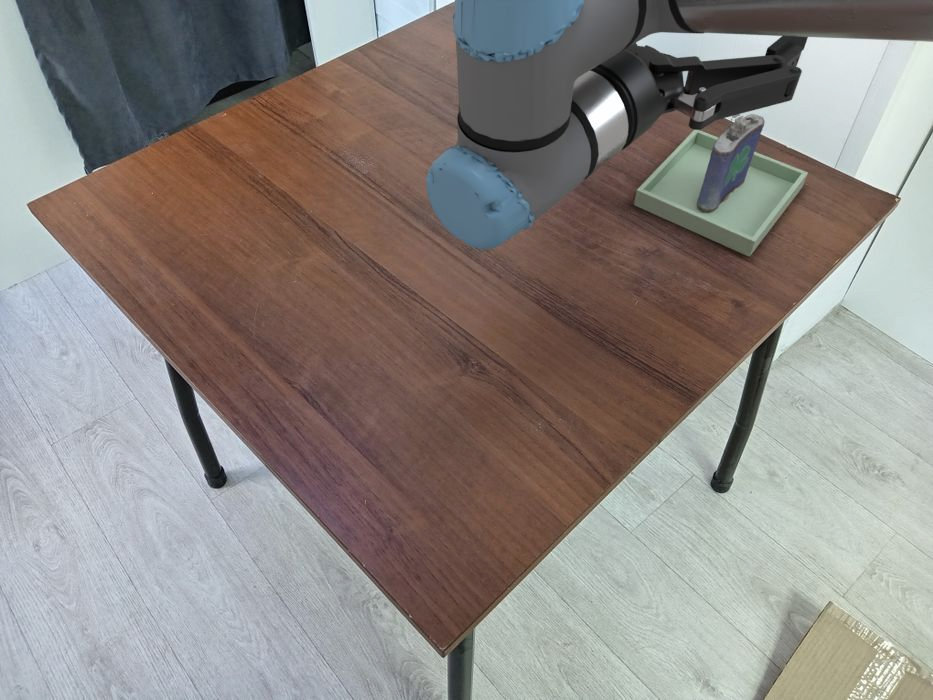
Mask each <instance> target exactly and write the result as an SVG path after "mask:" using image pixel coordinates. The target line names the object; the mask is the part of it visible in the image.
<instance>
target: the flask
mask: <svg viewBox="0 0 933 700" xmlns="http://www.w3.org/2000/svg"><path fill="white" fill-rule="evenodd" d="M733 119H734V122H733V123H732V124H730V126H728V127H727V128H726V129H725V130H724V131H723V132H722V133H721V134H720V135H719V136H718V139H717V141H716V142H715V144H714V146H713V149H712V152H711V156H710V160H709V164H708V167H707V171H706V174H705V178H704V182H703V185H702V187H701V191H700V195H699V198H698V201H697V208H698V209H699V210H700V211H704V212H706V213H709V212H712V211H715V210H716V209H718V208H719V207H718V206H719V205H720V204H721V203H722V202H723V201H725V200H727V198H729V194H730V193H731V192H734V189H736V188H739V186H740V185H742V184H743V183H744V181H745V178H746V174H747V171H748V168H749V165H750V162H751V160H752V157H753V155H754V152H756V148H757V146H758V144H759V143H758V142H759V140H760V137H761V134H762V131H763V128H764V126H765V123H766V121H765V119H764V117H763V116H761V115H759V114H755V113H751V114H747V115H745V116H744V115H741V114H738V115H734V116H731V118H730V121H731V122H732V121H733ZM699 207H700V208H701V209H700V208H699Z"/></svg>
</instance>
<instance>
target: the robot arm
mask: <svg viewBox="0 0 933 700" xmlns="http://www.w3.org/2000/svg"><path fill="white" fill-rule="evenodd" d="M452 23H453V27H452V28H453V33H454V36H455V49H456V50H455V51H456V53H455V54H456V69H457V90H458V95H457V96H458V112H457V116H456V118H457V122H456V123H457V124H456V125H457V127H456V128H457V141H456V143H455V144H454V146H450V147H447V148H445V151H443V153H442V154H441V155H440V156H439V157H438V158H436V159H435V160H434V161H433V163H432V164H431V166H430V167H429V169H428V173H427V174H426V177H425V179H426V180H425V187H426V194H427V197H428V201H429V204H430V205H431V208H432V210H433V212H434V214H435V216H436V217H437V219H438V221H439V222H440V223H441V224H442V225H443V227H444V228H445V229H446V230H447V231H448V232H449V233H450V234H451V235H452V236H453V237H454V238H455V239H458V240H460V241H461V242H463V243H464V244H465V245H466V246H468V247H471V248H474V249H477V250H492V249H495V248H498V247H500V246H501V245H503V244H505V243H506V242H507V241H509V240H510V239H511V238H513V237H514V236H516V235H517V234H519V233H521V232H522V231H523V230H528V229H530V228H531V227H532V226H533V225H534V223H535V222H536V221H537V220H539V219H540V218H541V217H542V216H544V215H545V214H546V213H547V212H548V211H549V210H551V209H552V208H553V207H554V206H555V205H557V204H558V203H559V202H560V201H561V200H562V199H564V198H565V197H567V196H568V195H569V194H570V193H571V192H572V191H574V190H575V189H576V188H577V187H578V186H580V185H581V184H582V183H583V182H584V181H585V180H587V179H588V178H589V177H591V176H592V175H593V174H594V173H595V172H597V171H598V170H599V169H600V168H602V167H603V166H604V165H606V164H607V163H608V162H610V161H611V159H613V158H614V157H615V156H617V155H618V153H620V152H621V151H624V150H625V149H626V148H628V147H629V146H630V145H631V144H633V143H634V142H636V140H638V139H639V138H640V137H641V136H643V135H644V134H645V133H646V132H648V131H649V130H650V129H651V128H652V126H653V125H654V124H655V123H656V122H657V121H658V119H659V118H660V117H661V116H663V115H665V114H668V113H672V112H675V111H678V112H680V113H682V114H684V115H686V116H688V117H689V121H688V127H689V128H690V129H691V130H693V131H694V130H700V131H702V130H703V129H704V128H707V126H709V125H711V124H712V123H714V122H715V121H718V120H722V119H726V118H729V117H732V116H734V115H738V114H740V115H741V114H744V113H745V114H746V113H749V112H752V111H757V110H760V109H764V108H767V107H771V106H776V105H779V104H784V103H787V102H791V101H792V100H793V98H794V96H795V93H796V90H797V87H798V84H799V81H800V79H801V76H802V73H803V70H802V69H801V67H799V66H798V63H799V61H800V58H801V55H802V52H803V51H804V50H805V47H806V44H807V41H808V38H821V39H822V38H823V39H824V38H825V39H848V40H849V39H850V40H851V39H852V40H877V41H901V42H925V43H927V42H929V43H933V0H454V13H453V15H452ZM659 33H660V34H661V33H667V34H668V33H669V34H700V35H701V34H719V35H721V34H722V35H725V34H726V35H748V36H771V37H772V36H776V37H779V38H778V39H776V40H775V41H774V42H772V44H770V45H769V46H768V47H767V49H766V51H765V54H764V55H757V56H747V57H745V56H744V57H737V58H736V57H734V58H733V57H732V58H724V59H723V58H722V59H712V60H701V59H700V57H699V56H696V55H694V56H683V57H682V56H681V57H676V56H675V55H672V54H668V53H664V52H660V51H659V50H658V49H656V48H654V47H653V46H650V45H647V44H646V45H644V46H643V45H638V42H639V41H641V40H643V39H645V38H646V37H649V36H650V35H653V34H659ZM684 72H687V75H686V80H685V84H684Z"/></svg>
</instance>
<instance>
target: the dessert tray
mask: <svg viewBox="0 0 933 700" xmlns="http://www.w3.org/2000/svg"><path fill="white" fill-rule="evenodd" d="M718 138H719V136H716V135H713V134H710V133H708V132H705V131H703V130H694V129H693V130H692V132H691V133H689V135H688V136H687V137H686V138H685V139H684V140H683V141H681V143H679V145H678V146H677V147H676V149H674V151H672V153H670V155H668V157H666V159H665V160H664V161H663V162H662V163H661V164H660V165H659V166H658V167H657V168H656V169H655V170H654V171H653V172H652V173H651V174H650V175H649V177H648V178H646V180H645V181H643V183H642V184H641V185H640V186H639V187H638V188H637V189H636V192H635V197H634V201H633V206H635V207H637V208H640V209H641V210H644V211H646V212H648V213H651V214H653V215H655V216H657V217H659V218H661V219H664V220H666V221H668V222H671V223H673V224H675V225H678V226H679V227H682V228H683V229H686V230H688V231H690V232H693V233H695V234H698V235H699V236H701V237H704V238H706V239H708V240H711V241H713V242H715V243H718V244H719V245H722V246H725V247H726V248H728V249H730V250H733V251H735V252H738V253H739V254H742V255H744V256H746V257H749V258H750V257H751V256H752V254H753V253H754V252H755V250H756V249H757V248H758V246H760V244H761V242H763V240H764V239H765V237H766V236H767V234H769V232H770V231H771V229H772V228H773V227H774V226H775V224H776V223H777V222H778V220H779V219H780V218H781V216H782V215H783V214H784V213H785V211H786V210H787V208H788V207H789V206H790V204H791V203H792V202H793V201H794V199H795V198H796V197H797V195H798V194H799V193H800V191H801V190H802V189H803V187H804V184H805V182H806V180H807V176H808V174H809V172H808V171H805V170H802V169H800V168H797V167H794V166H792V165H790V164H788V163H785V162H782V161H780V160H777V159H774V158H772V157H769V156H766V155H764V154H761V153H759V152H756V151H754V155H753V157H752V160H751V162H750V165H749V168H748V171H747V174H746V178H745V181H744V183H743V184H742V185H740V186H739V188H736V189H734V192H731V193H730V194H729V198H727V200H725V201H723V202H722V203H721V204H720V205H719V206H718V207H719V208H718V209H716V210H715V211H712V212H709V213H706V212H704V211H700V210H699V209H698V208H697V201H698V198H699V195H700V191H701V187H702V185H703V182H704V178H705V174H706V171H707V167H708V164H709V160H710V156H711V152H712V149H713V146H714V144H715V142H716V141H717V139H718ZM699 208H700V207H699ZM700 209H701V208H700Z"/></svg>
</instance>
